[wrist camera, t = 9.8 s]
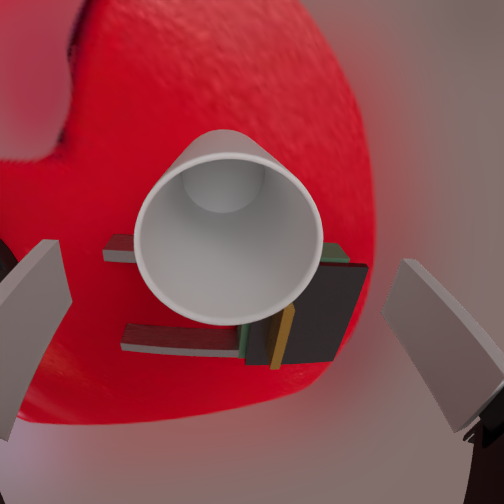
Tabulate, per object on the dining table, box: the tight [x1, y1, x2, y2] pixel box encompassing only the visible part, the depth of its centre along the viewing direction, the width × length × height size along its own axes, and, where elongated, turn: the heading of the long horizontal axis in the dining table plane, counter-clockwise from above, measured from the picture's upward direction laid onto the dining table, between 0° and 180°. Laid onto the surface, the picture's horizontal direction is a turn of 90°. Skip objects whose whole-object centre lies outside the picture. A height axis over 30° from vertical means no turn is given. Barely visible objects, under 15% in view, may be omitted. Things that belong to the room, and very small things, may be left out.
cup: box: [134, 130, 323, 325], centre depth 19 cm, size 8×8×16 cm
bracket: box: [103, 234, 239, 357], centre depth 30 cm, size 14×13×4 cm
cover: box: [245, 262, 369, 369], centre depth 28 cm, size 11×14×4 cm
